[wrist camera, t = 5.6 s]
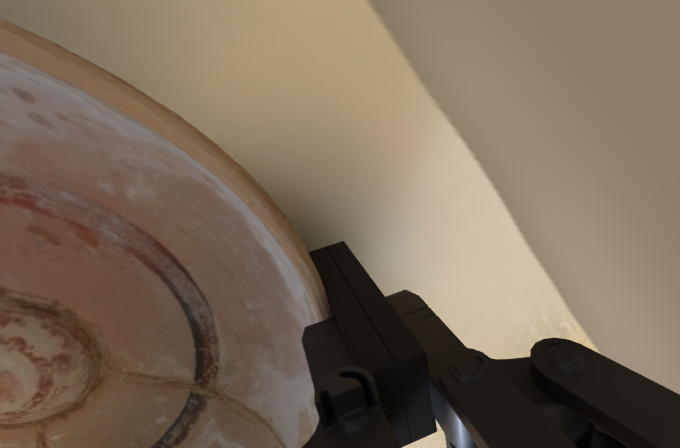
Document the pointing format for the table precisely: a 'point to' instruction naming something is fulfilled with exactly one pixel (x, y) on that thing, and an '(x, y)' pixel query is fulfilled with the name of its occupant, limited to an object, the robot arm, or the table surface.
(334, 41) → the table surface
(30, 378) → the ceramic bowl
